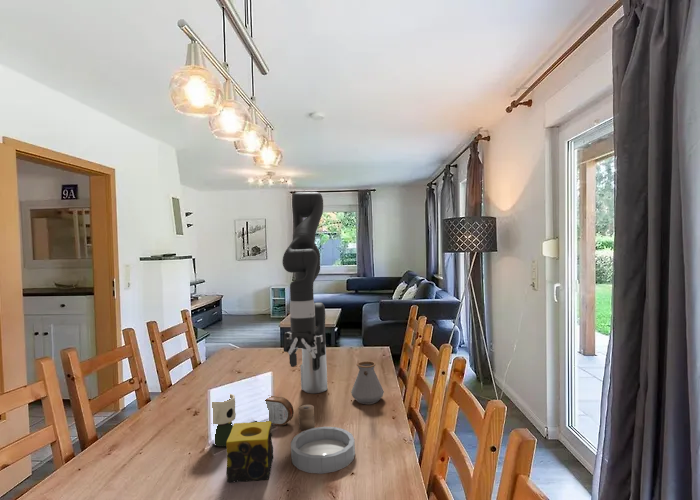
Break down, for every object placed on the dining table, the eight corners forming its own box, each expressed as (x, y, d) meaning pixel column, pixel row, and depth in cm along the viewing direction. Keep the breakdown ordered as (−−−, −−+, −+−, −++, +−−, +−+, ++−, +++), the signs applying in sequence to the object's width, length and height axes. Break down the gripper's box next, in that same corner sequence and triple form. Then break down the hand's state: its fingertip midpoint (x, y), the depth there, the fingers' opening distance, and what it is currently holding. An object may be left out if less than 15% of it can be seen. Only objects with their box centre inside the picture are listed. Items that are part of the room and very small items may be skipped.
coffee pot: (352, 394, 147) (351, 353, 147) (383, 393, 146) (382, 353, 146) (348, 419, 126) (346, 372, 126) (385, 419, 125) (383, 371, 125)
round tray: (278, 462, 102) (277, 447, 102) (316, 435, 116) (316, 422, 116) (331, 480, 94) (330, 464, 93) (365, 448, 107) (365, 434, 107)
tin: (294, 423, 124) (293, 397, 124) (289, 428, 121) (288, 400, 121) (252, 418, 129) (251, 392, 129) (247, 422, 126) (246, 396, 126)
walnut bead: (296, 428, 121) (295, 408, 121) (305, 422, 125) (305, 403, 125) (308, 432, 118) (307, 411, 118) (317, 425, 122) (316, 406, 122)
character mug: (229, 453, 108) (227, 405, 108) (203, 453, 108) (201, 405, 108) (242, 434, 119) (240, 390, 118) (218, 434, 119) (217, 391, 119)
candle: (234, 460, 104) (233, 422, 104) (273, 457, 105) (272, 419, 105) (225, 484, 94) (224, 442, 94) (269, 480, 95) (267, 438, 94)
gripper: (276, 315, 122) (278, 368, 122) (314, 318, 114) (316, 375, 114) (292, 311, 128) (294, 361, 128) (329, 314, 121) (331, 367, 121)
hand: (304, 368), depth 121 cm, fingers open, 8 cm apart
